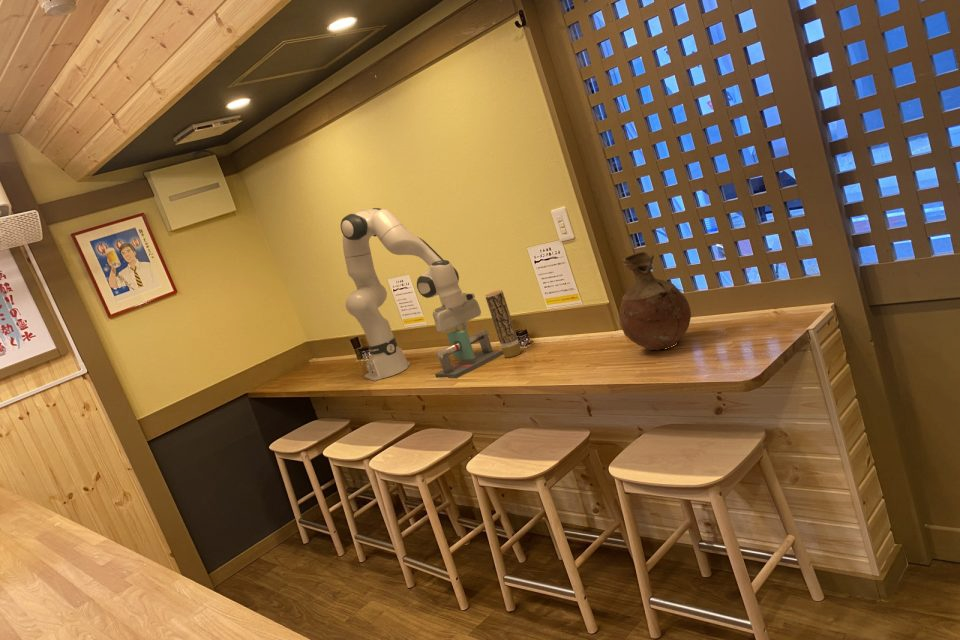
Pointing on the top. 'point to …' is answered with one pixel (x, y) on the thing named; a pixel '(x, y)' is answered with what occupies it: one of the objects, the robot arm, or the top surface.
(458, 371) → the base board
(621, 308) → the jug
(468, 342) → the collar
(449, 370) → the pipe rig
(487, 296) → the bark covered log
